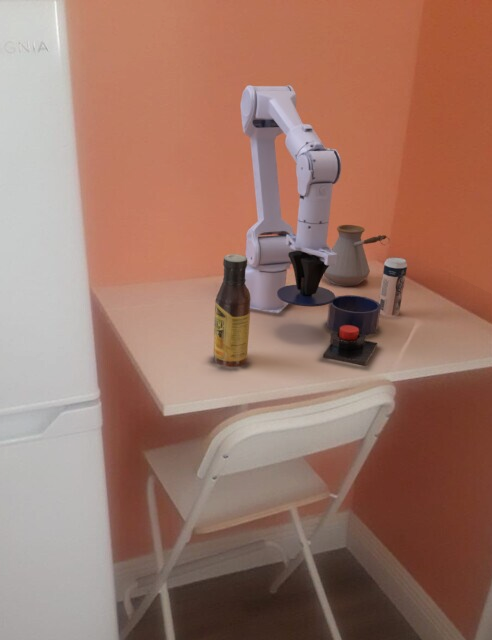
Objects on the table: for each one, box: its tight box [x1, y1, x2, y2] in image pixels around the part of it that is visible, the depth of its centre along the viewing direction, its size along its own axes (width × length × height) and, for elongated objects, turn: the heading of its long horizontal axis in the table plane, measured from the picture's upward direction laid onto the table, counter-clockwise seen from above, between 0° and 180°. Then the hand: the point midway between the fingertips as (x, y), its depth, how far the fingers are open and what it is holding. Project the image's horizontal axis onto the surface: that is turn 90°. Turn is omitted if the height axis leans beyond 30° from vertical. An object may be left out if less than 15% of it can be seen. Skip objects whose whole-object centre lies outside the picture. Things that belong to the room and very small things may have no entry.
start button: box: [339, 325, 359, 340], centre depth 134 cm, size 4×4×2 cm
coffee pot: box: [323, 224, 391, 287], centre depth 164 cm, size 21×12×15 cm, turn 19°
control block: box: [322, 329, 379, 367], centre depth 133 cm, size 10×8×3 cm
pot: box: [326, 294, 381, 336], centre depth 144 cm, size 10×10×5 cm
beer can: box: [378, 256, 408, 317], centre depth 150 cm, size 5×5×12 cm
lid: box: [277, 275, 336, 308], centre depth 136 cm, size 11×11×4 cm
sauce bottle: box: [213, 253, 251, 368], centre depth 124 cm, size 7×6×20 cm
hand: (306, 291), depth 136 cm, fingers closed on lid, 2 cm apart
